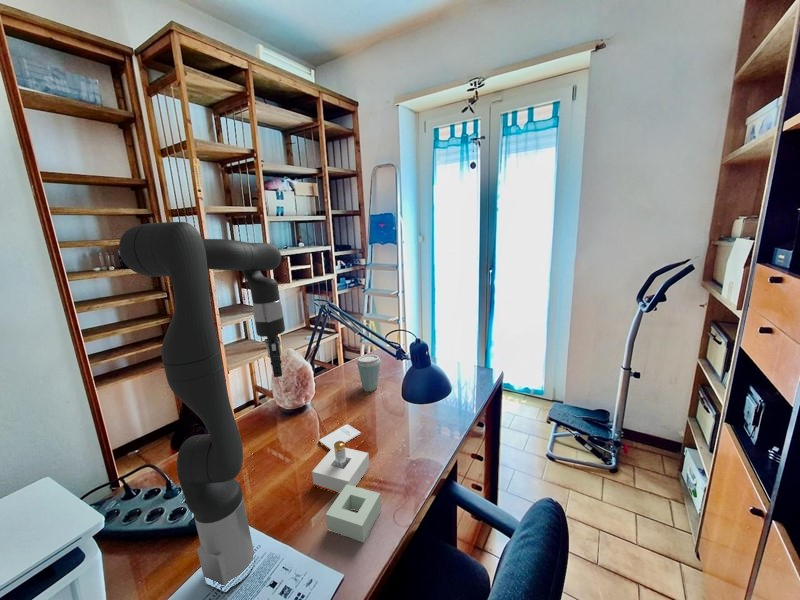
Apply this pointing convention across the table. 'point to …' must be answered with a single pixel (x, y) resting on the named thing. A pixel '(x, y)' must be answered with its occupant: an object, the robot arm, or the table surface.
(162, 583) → the table surface
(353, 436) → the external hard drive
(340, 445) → the steel pin
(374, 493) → the block
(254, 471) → the table surface
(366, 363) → the disposable coffee cup
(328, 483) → the dock block
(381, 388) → the table surface
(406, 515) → the table surface
